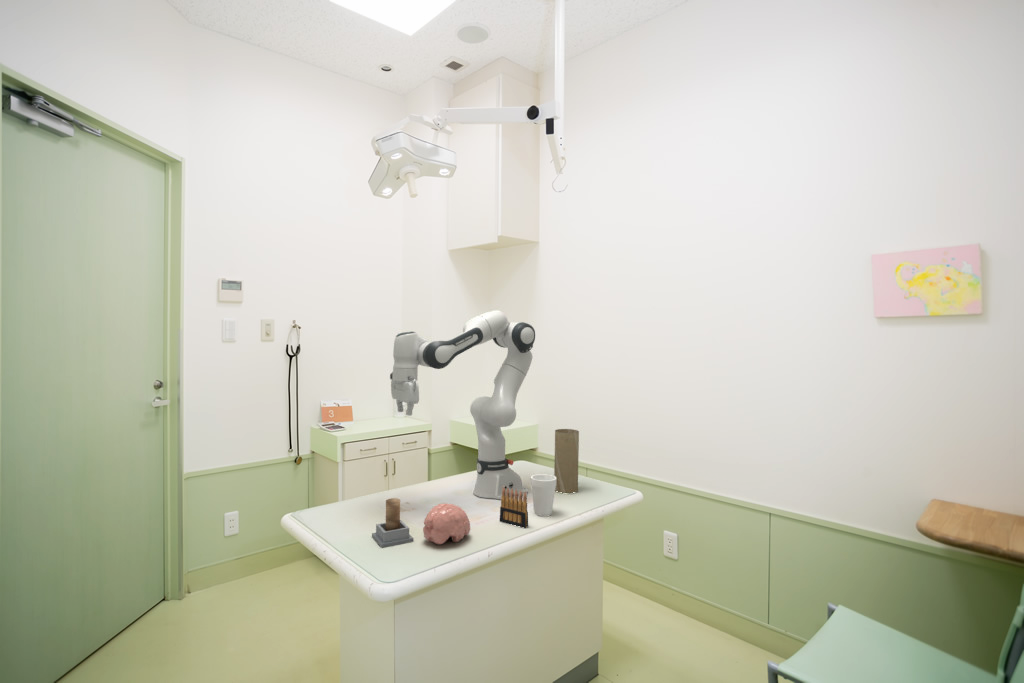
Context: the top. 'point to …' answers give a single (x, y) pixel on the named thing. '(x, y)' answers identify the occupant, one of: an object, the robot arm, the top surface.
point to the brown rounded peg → (392, 514)
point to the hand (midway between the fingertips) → (404, 413)
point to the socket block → (392, 535)
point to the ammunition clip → (514, 508)
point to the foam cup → (543, 493)
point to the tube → (566, 460)
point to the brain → (446, 523)
